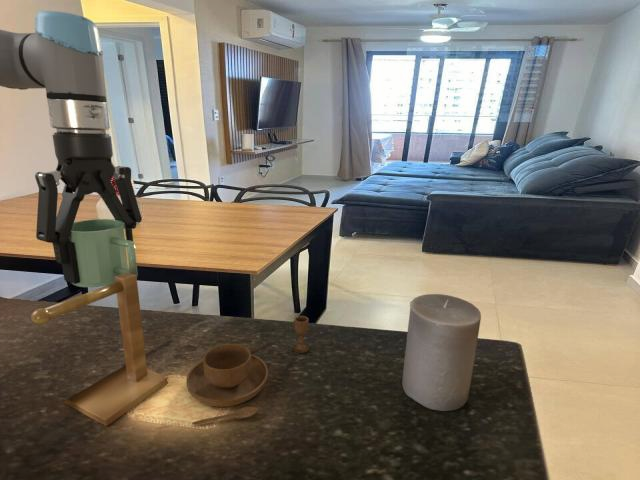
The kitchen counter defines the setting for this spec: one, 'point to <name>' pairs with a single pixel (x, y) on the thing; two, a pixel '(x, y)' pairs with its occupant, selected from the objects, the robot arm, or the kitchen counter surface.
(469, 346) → the pillar candle
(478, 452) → the kitchen counter surface
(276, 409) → the kitchen counter surface
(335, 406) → the kitchen counter surface
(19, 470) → the kitchen counter surface
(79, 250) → the mug
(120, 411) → the mug stand
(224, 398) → the place setting
